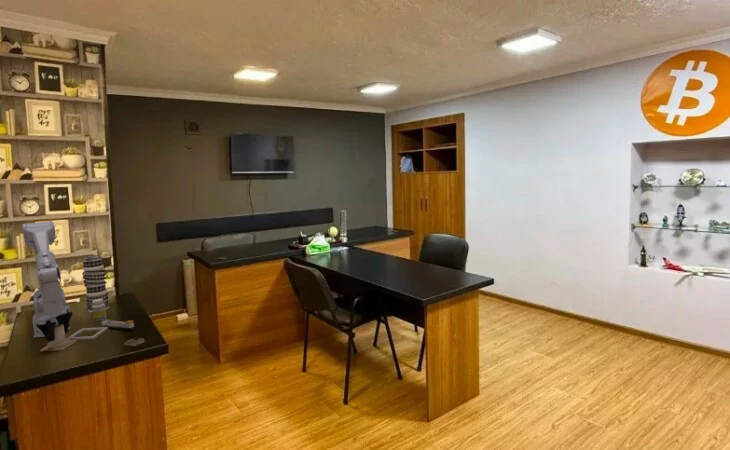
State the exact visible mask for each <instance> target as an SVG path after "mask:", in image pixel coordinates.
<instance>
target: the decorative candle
mask: <svg viewBox="0 0 730 450" xmlns="http://www.w3.org/2000/svg"><path fill="white" fill-rule="evenodd" d="M81 262H82V265H83V266H82V269H83V272H82V273H81V274H82V279H84V280H83V283H84V284H83V287H85V288H86V296H85V298H86V302H87V304H86V306H87V312H88V313H91V312H93V311H92V306H93V304H92V301H93V300H96V299H103V303H104V304H105V309H107V310H109V309H110V300H109V296H108V295H109V293H108V292H107V287H106V284H107V281H106V279H107V277H106V276H107V274H106V273H104V272H106V271H107V270H106V269H105V268H106V266H104V264H103V262H104V261H103V257H102V256H100V255H97V254H92V255H87V256H84V257H83V259H82V260H81ZM108 308H109V309H108Z"/></svg>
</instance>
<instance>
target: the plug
mask: <svg viewBox="0 0 730 450" xmlns="http://www.w3.org/2000/svg"><path fill="white" fill-rule="evenodd" d="M54 334H55V339H54V341H48V343H47V345H46V346H48V348H49V349H56V348H61V347H64V346H67V345H69V344H70V343H71V340H70V338H68V337H66V333H65V332H64V325H63V324H57V325H55V330H54Z"/></svg>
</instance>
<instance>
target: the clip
mask: <svg viewBox="0 0 730 450" xmlns="http://www.w3.org/2000/svg"><path fill="white" fill-rule="evenodd" d="M100 321H101V323H100V324H101V326H103V325H110V326H111V327H119V328H127V329H133V328H134V327H135V323H134V320H132V319H131V320H129V319H128V320H127V321H122V320H121V321H120V320H111V319H109V318H108V319H107V318H106V319H104V320H100Z"/></svg>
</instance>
